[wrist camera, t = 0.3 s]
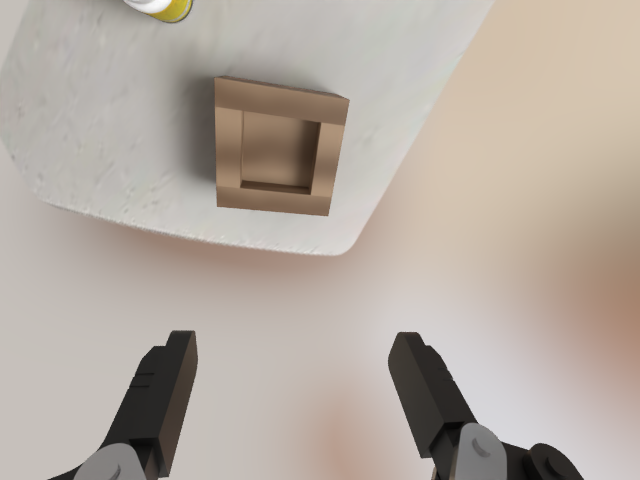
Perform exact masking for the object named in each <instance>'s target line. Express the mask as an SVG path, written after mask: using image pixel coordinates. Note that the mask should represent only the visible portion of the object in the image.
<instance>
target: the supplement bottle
mask: <svg viewBox="0 0 640 480" xmlns="http://www.w3.org/2000/svg"><path fill="white" fill-rule="evenodd" d="M123 1H124V2H125V3H127V4H128V5H129V6H131V7H133V8H134V9H136V10H138V11H140V12H143V13H145V14H148V15H150V16H152V17H154V18H156V19H159V20H161V21H164V22H167V23H179V22H182V21H184V20H185V19H186V18H187V17H188V16H189V15H190V13H191V11H192V8H193V4H194V0H123Z"/></svg>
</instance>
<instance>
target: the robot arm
mask: <svg viewBox="0 0 640 480" xmlns="http://www.w3.org/2000/svg"><path fill="white" fill-rule="evenodd" d="M197 364H198V355H197V345H196V336H195V331H172V332H171V334H170V336H169V338H168V341H167V343H166V346H154V347H153V348H152V349H151V350H150V351H149V352H148V353H147V354H146V355H145V356H144V357H143V358H142V360H141V362H140V364H139V366H138V369H137V371H136V373H135V377H133V379H132V381H131V384H130V386H129V389H128V390H127V392H126V394H125V397H124V399H123V401H122V403H121V405H120V408H119V410H118V412H117V414H116V416H115V418H114V421H113V423H112V425H111V427H110V430H109V431H108V434H107V436H106V438H105V440H104V442H103V443H102V445H101V446H100V447H99V449H98V450H97V451H96V452H95V453H94V454H93V455H91V456H90V457H89V458H88V459H87V460H86V461H85V462H84V463H82V464H81V465H80V466H78V467H76V468H75V469H73V470H71V471H69V472H67V473H64V474H61V475H59V476H56V477H53V478H51V479H48V480H158V478H162V477H169V474H170V470H171V466H172V462H173V459H174V455H175V451H176V447H177V444H178V440H179V436H180V432H181V428H182V425H183V421H184V417H185V413H186V410H187V405H188V402H189V398H190V394H191V391H192V386H193V383H194V379H195V375H196V370H197ZM388 366H389V371H390V374H391V376H392V379H393V382H394V385H395V388H396V390H397V393H398V396H399V399H400V401H401V404H402V407H403V409H404V412H405V415H406V418H407V421H408V423H409V426H410V429H411V432H412V434H413V437H414V440H415V442H416V446H417V448H418V451H419V454H420V457H421V458H431V457H432V458H433V461H434V464H435V467H434V469H433V474H432V479H431V480H584V479H583V478H582V476H581V475H580V473H579V472H578V471H577V469H576V468H575V466H574V465H573V464H572V462H570V460H569V459H568V458H567V457H566V456H565V455H564V454H562V453H561V452H560V451H558V450H557V449H556V448H554V447H552V446H550V445H547V444H542V443H538V444H535V445H534V446H533V447H532V448H531V449H530V450H527V449H523V448H520V447H517V446H514V445H510V444H507V443H504V442H501V441H500V440H499V439H498V438H497V437H496V435H495V434H494V433H493V432H492V431H490V430H489V429H488V428H486V427H484V426H482V425H480V424H479V423H478V422H477V420H476V419H475V418H474V415H473V413H472V412H471V410H470V408H469V406H468V404H467V403H466V401H465V399H464V397H463V395H462V394H461V392H460V390H459V388H458V386H457V385H456V383H455V381H453V378H452V376H451V374H450V372H449V371H448V370H447V367H446V365H445V363H444V361H443V360H442V358H441V356H440V355H439V354H438V353H437V352H436V351H435V350H434V349H433V348H432V347H431V346H425V344H424V342H423V340H422V338H421V336H420V335H419V334H418V333H417V332H399V333H398V334H397V336H396V338H395V341H394V344H393V346H392V349H391V351H390V354H389V357H388Z"/></svg>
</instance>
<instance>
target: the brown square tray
mask: <svg viewBox="0 0 640 480" xmlns="http://www.w3.org/2000/svg"><path fill="white" fill-rule="evenodd" d="M214 88H215V139H216V190H217V207H227V208H238V209H250V210H261V211H273V212H284V213H296V214H307V215H319V216H328V214H329V209H330V203H331V198H332V193H333V187H334V182H335V176H336V171H337V166H338V160H339V155H340V149H341V144H342V139H343V133H344V128H345V122H346V117H347V112H348V106H349V101H350V100H349V99H346V98H344V97H342V96H340V95H337V94H331V93H325V92H319V91H313V90H307V89H301V88H295V87H289V86H283V85H277V84H271V83H265V82H259V81H253V80H247V79H241V78H235V77H229V76H221V77H215V78H214Z"/></svg>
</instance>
